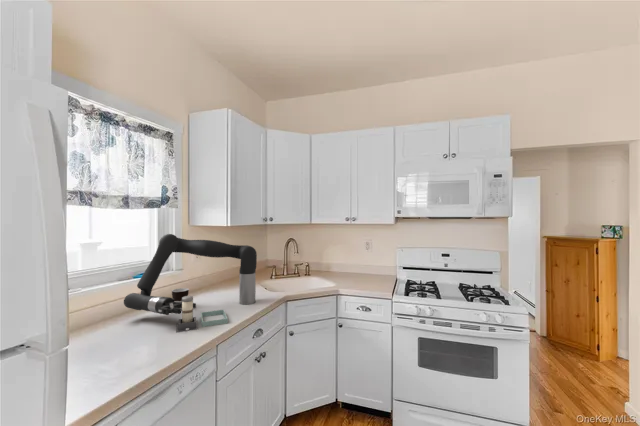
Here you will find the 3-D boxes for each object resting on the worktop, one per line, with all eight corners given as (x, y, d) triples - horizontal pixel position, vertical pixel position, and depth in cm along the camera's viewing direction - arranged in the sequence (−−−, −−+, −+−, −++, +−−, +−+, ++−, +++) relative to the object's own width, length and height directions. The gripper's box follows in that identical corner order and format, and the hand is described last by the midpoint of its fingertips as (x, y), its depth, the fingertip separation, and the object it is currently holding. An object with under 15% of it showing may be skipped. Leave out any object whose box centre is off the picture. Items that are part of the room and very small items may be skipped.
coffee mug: (181, 310, 157) (182, 292, 157) (167, 310, 159) (168, 291, 159) (195, 304, 169) (195, 287, 169) (182, 303, 170) (182, 286, 170)
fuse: (181, 325, 133) (182, 296, 134) (192, 323, 135) (193, 295, 135) (181, 328, 129) (181, 299, 129) (193, 327, 131) (193, 297, 131)
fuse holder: (176, 325, 136) (176, 317, 136) (197, 322, 139) (197, 315, 140) (175, 334, 125) (175, 326, 125) (198, 331, 129) (198, 323, 129)
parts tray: (200, 318, 145) (200, 312, 145) (223, 315, 150) (223, 309, 150) (202, 328, 131) (202, 322, 131) (227, 325, 136) (227, 318, 136)
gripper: (147, 301, 131) (175, 304, 126) (173, 293, 145) (199, 296, 139) (147, 317, 131) (175, 322, 125) (173, 308, 144) (199, 312, 139)
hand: (188, 308), depth 132 cm, fingers open, 8 cm apart
